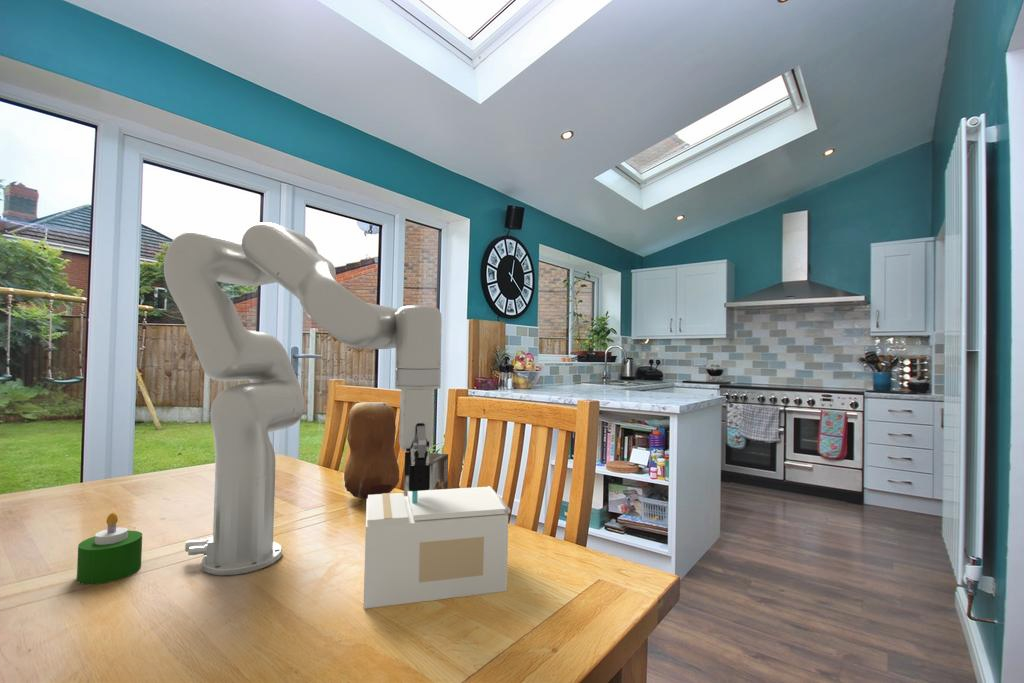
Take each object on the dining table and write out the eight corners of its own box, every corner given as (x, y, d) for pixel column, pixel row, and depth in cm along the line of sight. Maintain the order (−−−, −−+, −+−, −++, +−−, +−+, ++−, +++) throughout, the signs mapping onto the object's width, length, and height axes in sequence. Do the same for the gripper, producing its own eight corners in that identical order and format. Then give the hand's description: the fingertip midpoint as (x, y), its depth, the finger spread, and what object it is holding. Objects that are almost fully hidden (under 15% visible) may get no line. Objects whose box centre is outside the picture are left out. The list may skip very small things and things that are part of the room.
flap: (412, 521, 73) (413, 480, 74) (406, 496, 86) (407, 461, 86) (510, 513, 78) (511, 474, 78) (491, 491, 90) (492, 457, 91)
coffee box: (419, 525, 105) (421, 451, 106) (447, 528, 104) (449, 453, 104) (402, 541, 96) (404, 460, 97) (432, 544, 95) (434, 463, 95)
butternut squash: (376, 488, 132) (378, 397, 133) (409, 497, 125) (411, 401, 125) (331, 500, 121) (334, 401, 122) (364, 511, 113) (367, 405, 114)
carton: (363, 609, 71) (365, 521, 71) (364, 567, 84) (366, 493, 85) (506, 591, 77) (508, 510, 77) (486, 555, 90) (488, 486, 91)
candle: (88, 566, 83) (91, 507, 83) (147, 559, 86) (149, 502, 86) (67, 588, 75) (69, 524, 75) (132, 579, 78) (134, 517, 78)
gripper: (392, 377, 88) (391, 471, 87) (397, 382, 71) (395, 499, 71) (434, 376, 90) (432, 468, 89) (448, 382, 73) (446, 495, 73)
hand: (416, 482), depth 80 cm, fingers open, 9 cm apart
